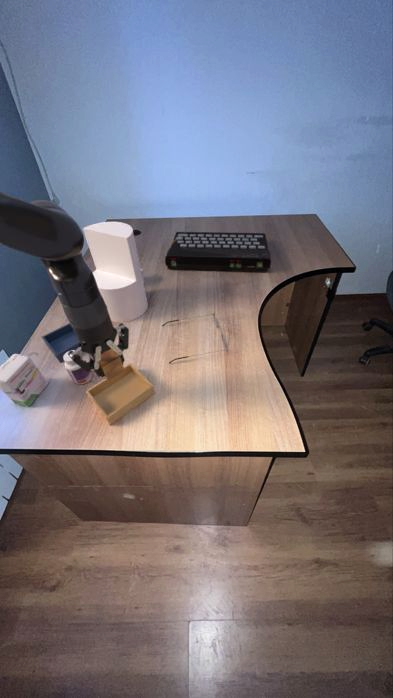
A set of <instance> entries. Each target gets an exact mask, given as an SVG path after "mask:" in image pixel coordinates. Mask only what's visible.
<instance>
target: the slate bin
mask: <svg viewBox="0 0 393 698" xmlns="http://www.w3.org/2000/svg"><path fill="white" fill-rule="evenodd" d="M41 338H42V340H43V342H44V344H45V345H46V346H47V347H48V349H49V350H50V352H51V353H52V355H54V357H55V358H56V359H57V361H58V362H59V363H63V362H65V361H64V359H63V356H64V355H65V353H67V352H68V351H71V350H76V349H77V348H79V341H78V338H77V336H76V334H75V332H74V331H73V329H72V327H71V325H70V323H69V322H68V323H67V324H65V325H63V326H61V327H59V328H55V330H52V331H50V332H48V333H46V334H44V335H42V336H41Z"/></svg>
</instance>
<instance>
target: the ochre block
mask: <svg viewBox="0 0 393 698" xmlns="http://www.w3.org/2000/svg"><path fill="white" fill-rule="evenodd" d="M99 366H100V367H101V369H102V371H103V373H104V375H105V377H104V379H105V378H106V379H107V380H108V381H109V380H111V379H112V378H114V377H115V376H117V375H118V374H120V373H121V372H123V371H125V369H124V365H123V364H122V361H121V359H120V357H119V356H118V355H117V354H116V353H115V351H114V350H113V349H110V350H108V351H105V352H104V353H103V354H101V361H99Z"/></svg>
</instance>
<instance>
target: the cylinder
mask: <svg viewBox="0 0 393 698" xmlns="http://www.w3.org/2000/svg"><path fill="white" fill-rule="evenodd" d="M82 232H83V235H84V238H85V240H86V242H87V246H88V249H89V251H90V255H91V257H92V260H93V263H94V267H95V270H94V271H92V272H93V275H94V277H95V280H96V283H97V285H98V288H99V291H100V293H101V295H102V297H103V299H104V301H105V304H106V305H107V310H108V313H109V316H110V318H111V321H112V323H127V322H131V321H135V320H136V319H138V318H140V317H141V316H142V315H144V314H145V312H147V310H148V306H149V304H148V299H147V292H146V288H145V283H143V278H142V273H141V269H142V268H141V264H140V260H139V259H140V258H139V255H138V249H137V243H136V240H135V234H134V229H133V227H132V226H131V225H129V224H128V223H125V222H122V221H101V222H96V223H93V224H90V225H87V226H85V227H83V228H82Z"/></svg>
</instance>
